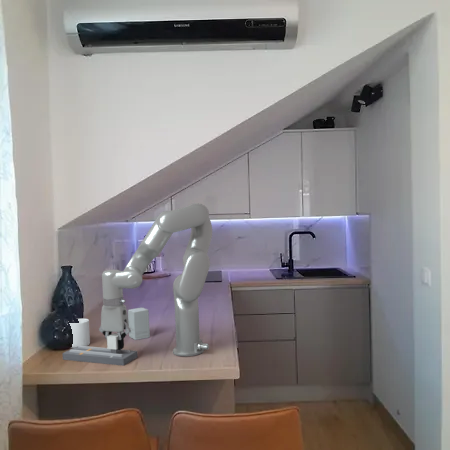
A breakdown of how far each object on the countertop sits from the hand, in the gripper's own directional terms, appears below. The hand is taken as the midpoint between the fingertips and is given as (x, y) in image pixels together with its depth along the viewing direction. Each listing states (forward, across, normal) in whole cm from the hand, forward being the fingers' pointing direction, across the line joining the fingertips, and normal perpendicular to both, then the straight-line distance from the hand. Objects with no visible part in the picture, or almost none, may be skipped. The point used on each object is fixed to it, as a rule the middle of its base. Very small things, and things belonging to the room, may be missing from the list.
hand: (115, 348), depth 185 cm
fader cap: (+2, 0, 0) cm, 2 cm away
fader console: (+5, +7, 0) cm, 9 cm away
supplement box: (+5, +7, -30) cm, 31 cm away
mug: (+5, +28, -12) cm, 31 cm away
